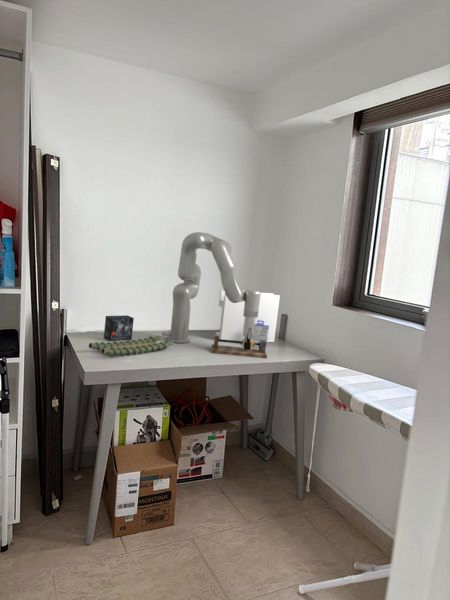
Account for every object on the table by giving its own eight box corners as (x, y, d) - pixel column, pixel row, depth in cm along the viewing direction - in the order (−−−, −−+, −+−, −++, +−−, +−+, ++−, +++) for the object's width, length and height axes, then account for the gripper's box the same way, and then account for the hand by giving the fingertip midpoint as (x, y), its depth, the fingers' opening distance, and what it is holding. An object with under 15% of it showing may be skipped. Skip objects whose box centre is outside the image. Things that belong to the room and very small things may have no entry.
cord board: (211, 352, 234) (213, 338, 233) (211, 347, 246) (212, 333, 245) (266, 358, 236) (268, 343, 235) (263, 352, 248) (265, 338, 247)
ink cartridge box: (266, 346, 262) (269, 321, 260) (265, 348, 257) (268, 322, 255) (249, 343, 264) (252, 318, 262) (248, 345, 259) (251, 320, 257)
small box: (109, 341, 235) (111, 318, 233) (103, 338, 240) (104, 315, 238) (132, 339, 244) (134, 317, 242) (125, 336, 249) (127, 315, 247)
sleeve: (242, 346, 239) (243, 340, 238) (241, 345, 242) (242, 338, 242) (251, 347, 239) (252, 340, 239) (251, 346, 243) (252, 339, 242)
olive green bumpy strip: (104, 360, 203) (105, 349, 202) (86, 352, 212) (87, 341, 212) (174, 350, 233) (175, 340, 232) (156, 343, 242) (157, 334, 242)
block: (220, 341, 262) (226, 292, 258) (215, 338, 269) (220, 290, 265) (274, 341, 277) (280, 295, 273) (267, 338, 284) (273, 293, 280)
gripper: (242, 310, 246) (238, 344, 249) (244, 315, 230) (240, 351, 232) (256, 311, 247) (252, 345, 249) (259, 317, 230) (255, 353, 233)
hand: (246, 348), depth 241 cm, fingers closed on sleeve, 3 cm apart
